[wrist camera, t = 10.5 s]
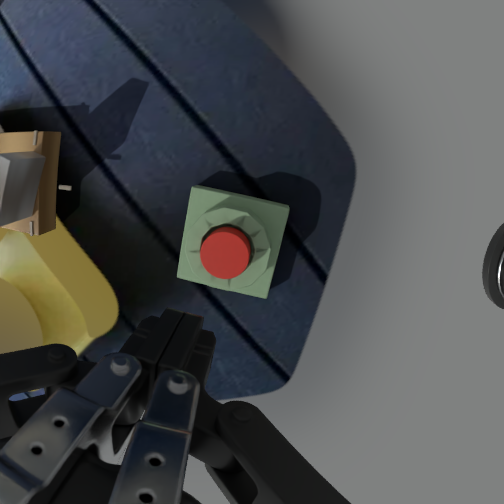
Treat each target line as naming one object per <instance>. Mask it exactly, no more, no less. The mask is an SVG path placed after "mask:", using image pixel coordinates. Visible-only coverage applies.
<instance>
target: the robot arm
mask: <svg viewBox="0 0 504 504" xmlns="http://www.w3.org/2000/svg"><path fill="white" fill-rule="evenodd" d="M496 284H497V288H498V291H499V293H500V295H501V296H502V297H503V298H504V247H503V249H502V252H501V254H500V257H499V260H498V264H497V269H496ZM203 320H204V317H202V316H198V315H194V314H190V313H187V312H186V313H185V312H183V311H179V310H175V309H172V308H168V307H167V308H166V309H165V311H164V312H163V314H162V315H161V317H160V318H159V317H155V316H150V317H148V318H146V319H144V320H142V321H141V323H140V324H139V325H138V327H137V329H135V331H134V332H133V334H132V335H131V336H130V337H129V339H128V340H127V341H126V343H125V344H124V345H123V347H122V348H121V350H120V351H119V352H115V353H110V354H107V355H105V356H104V357H103V358H102V359H101V360H100V361H99V362H98V363H94V362H86V361H79V360H77V355H76V352H75V351H74V350H73V349H72V348H70V347H69V346H67V345H63V344H49V345H45V346H40V347H35V348H30V349H25V350H20V351H15V352H9V353H4V354H0V504H201V503H200V502H199V501H198V500H196V499H195V498H194V497H193V496H191V495H190V494H188V493H187V492H185V491H183V484H184V478H185V471H186V466H187V460H188V454H190V455H191V456H193V457H195V458H197V459H199V460H200V461H203V462H204V463H205V467H206V469H207V471H208V473H209V474H210V476H211V477H212V478H213V480H214V481H215V483H216V484H217V486H218V487H219V488H220V490H221V491H222V492H223V494H224V495H225V497H226V498H227V499H228V501H229V502H230V504H351V503H350V502H349V501H348V500H346V499H345V498H344V497H343V496H342V495H341V494H340V493H339V492H338V491H337V490H336V489H335V488H334V487H333V486H332V485H331V484H330V483H329V482H328V481H326V479H325V478H323V476H321V475H320V474H319V473H318V472H317V471H316V470H315V469H314V468H313V467H312V466H311V464H309V463H308V461H307V460H306V459H304V457H303V456H302V455H301V454H300V453H299V452H298V451H297V450H296V449H295V448H294V447H293V446H292V445H291V444H290V443H289V442H288V441H287V439H286V438H285V437H284V436H283V435H282V434H281V433H280V432H279V431H278V430H277V429H276V428H275V426H274V425H273V424H272V423H271V422H270V421H269V420H268V419H267V418H266V417H265V415H264V414H263V413H262V412H261V411H260V410H259V409H258V408H257V407H255V406H254V405H252V404H250V403H247V402H244V401H230V402H227V403H225V404H221V403H219V402H217V401H216V400H214V399H213V398H211V397H210V396H209V395H208V394H207V392H206V391H205V385H206V382H207V378H208V375H209V372H210V368H211V363H212V358H213V354H214V349H215V344H216V338H215V336H214V333H213V332H211V331H207V330H203V329H202V326H203ZM40 388H44V391H45V394H44V395H40V396H36V397H32V398H27V399H23V400H19V401H10V400H8V399H9V398H10V397H11V396H12V395H14V394H18V393H23V392H27V391H31V390H36V389H40ZM144 410H145V413H144V415H143V418H142V420H140V418H141V416H142V414H143V412H144ZM127 446H128V447H127ZM126 447H127V449H126ZM125 449H126V452H125V455H124V458H123V461H122V464H121V465H117V464H118V461H119V459H120V458H121V456H122V454H123V453H124V451H125Z"/></svg>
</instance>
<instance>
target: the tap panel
mask: <svg viewBox="0 0 504 504" xmlns="http://www.w3.org/2000/svg"><path fill="white" fill-rule="evenodd" d="M60 139H61V132H47V131H38V130H34V132H8V133H0V154H1V153H13V152H27V151H34V152H36V153H38V154H40V155H42V156H45V157H46V159H45V163H44V166H43V170H42V174H41V178H40V182H39V186H38V190H37V195H36V199H35V204H34V209H33V213H32V216H31V217H28V218H25V219H22V220H19V221H16V222H13V223H10V224H7V225H4V226H2V227H3V228H7V229H11V230H16V231H20V232H25V233H29V234H30V236H33V234H35V235H41V234H44V233H46V232H49V231H51V230H54V229H55V228H56V188H57V171H58V159H59V148H60ZM71 187H72V186H66V185H59V189H63V190H71Z"/></svg>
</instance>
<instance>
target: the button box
mask: <svg viewBox="0 0 504 504" xmlns="http://www.w3.org/2000/svg"><path fill="white" fill-rule="evenodd" d="M289 210H290V209H289V206H288V205H285V204H281V203H277V202H272V201H268V200H264V199H259V198H255V197H251V196H246V195H242V194H237V193H233V192H228V191H224V190H219V189H214V188H210V187H205V186H200V185H196V186H193V187H192V189H191V194H190V200H189V205H188V211H187V216H186V222H185V228H184V234H183V240H182V246H181V253H180V259H179V266H178V272H177V277H178V278H181V279H185V280H189V281H193V282H197V283H201V284H205V285H208V286H210V287H215V288H219V289H223V290H227V291H235V292H239V293H243V294H247V295H252V296H256V297H260V298H265V299H266V298H267V296H268V292H269V288H270V284H271V281H272V277H273V273H274V269H275V265H276V261H277V257H278V254H279V250H280V246H281V242H282V238H283V234H284V230H285V226H286V222H287V218H288V214H289ZM221 227H233V228H236V229H238V230H240V231H241V232H242V233H244V235H245V236H246V237H247V238H248V240H249V243H250V247H251V254H250V258H249V262H248V265H247V267H246V269H245V270H244V271H243V272H242V273H241V274H240V275H239V276H237V277H235V278H231V279H220V278H217V277H214V276H213V275H211V274H210V273H208V272H207V271H206V269H205V268H204V266H203V265H202V262H201V259H200V250H201V246H202V244H203V242H204V241H205V240H206V238H207V237H208V236H209V235H210V234H211V233H212V232H213V231H214V230H216V229H218V228H221Z"/></svg>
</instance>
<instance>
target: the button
mask: <svg viewBox="0 0 504 504" xmlns="http://www.w3.org/2000/svg"><path fill="white" fill-rule="evenodd" d="M250 254H251V247H250V243H249V240H248V238H247V237H246V236H245V235H244V233H242V232H241V231H240V230H238V229H236V228H233V227H221V228H218V229H216V230H214V231H213V232H212V233H211V234H210V235H209V236H208V237H207V238H206V240H205V241H204V242H203V244H202V246H201V250H200V259H201V262H202V265H203V266H204V268H205V269H206V271H207V272H208V273H210V274H211V275H213V276H214V277H217V278H220V279H231V278H235V277H237V276H239V275H240V274H241V273H242V272H243V271H244V270H245V269H246V267H247V265H248V262H249V258H250Z"/></svg>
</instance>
